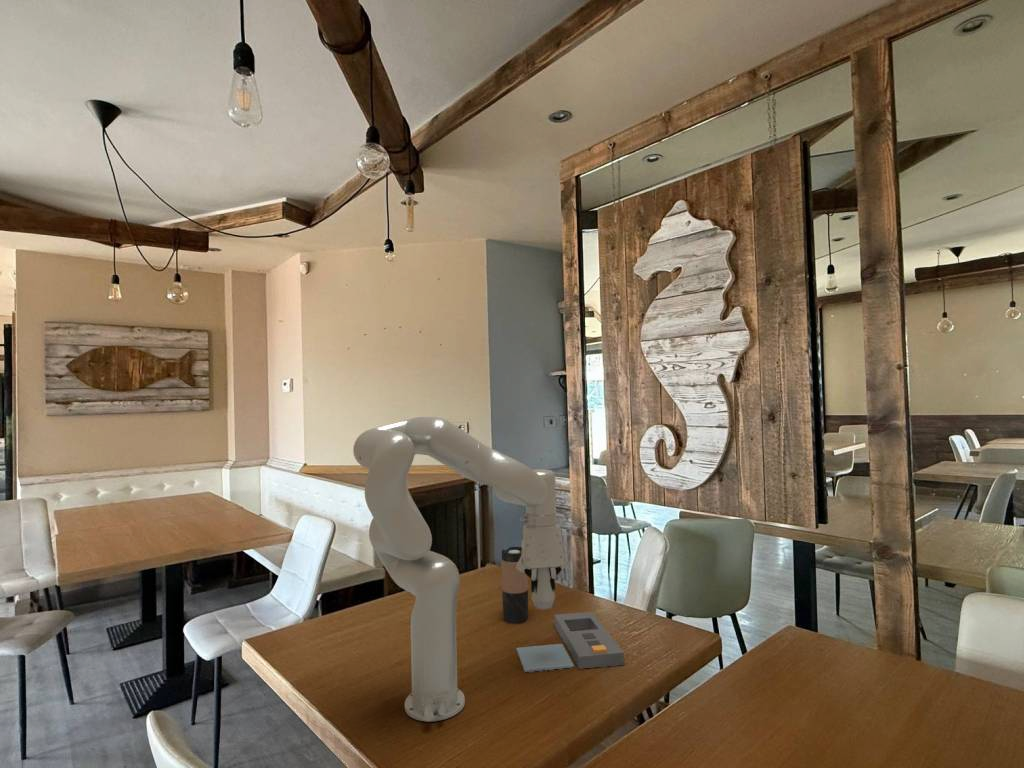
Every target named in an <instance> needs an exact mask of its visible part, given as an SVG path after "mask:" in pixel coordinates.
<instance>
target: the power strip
mask: <svg viewBox="0 0 1024 768" xmlns="http://www.w3.org/2000/svg"><path fill="white" fill-rule="evenodd" d="M553 617H554V619H553V621H554V623H553V624H554V627H555V629H556V631H557V633H558V635H559V637H560V638H561V640H562V639H563V640H562V642H563V643H564V645H565V646H567V647H566V648H567V651H568V652H569V651H570V652H569V654H570V653H571V654H570V655H572V656H571V657H572V659H573V658H574V659H573V661H574V660H575V661H574V663H575V662H576V663H575V664H576V666H577V665H578V666H577V667H579V668H578V669H581V670H583V669H582V668H591V669H593V668H592V667H601V668H606V667H605V666H612V667H618V666H617V665H622V666H624V665H625V659H624V658H625V653H624V651H623V650H622V649H621V647H620V646H619V645H618V643H617V642H616V641H615V640H614V638H613V637H612V635H611V634H610V633H609V632H608V630H607V629H606V628H605V627H604V625H603V624H602V622H600V620H599V619H598V618H597V616H596V615H595V614H594V613H593V611H585V612H574V613H571V612H570V613H560V614H554V615H553ZM580 629H583V630H580ZM571 630H572V631H571ZM603 666H604V667H603Z"/></svg>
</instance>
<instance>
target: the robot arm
mask: <svg viewBox="0 0 1024 768" xmlns="http://www.w3.org/2000/svg"><path fill="white" fill-rule="evenodd" d="M352 451H353V452H352V453H353V456H354V459H355V460H356V462H357V463H358V464H359V465H360V466H361V467H363V468H365V469H367V470H368V472H367V476H366V479H365V486H364V499H365V503H366V505H367V508H368V510H369V513H371V516H372V519H371V521H370V524H369V528H368V536H369V541H370V544H371V546H372V548H373V550H374V552H375V553H376V555H377V556H378V558H379V560H380V562H381V563H382V565H383V566H384V568H385V570H386V571H387V572H388V575H389V576H390V578H391V579H392V581H393V582H394V583H395V584H396V585H397V586H399V588H401V589H402V590H404V591H407V592H408V593H411V594H412V595H413V596H415V600H414V601H415V602H414V605H413V609H412V612H411V617H410V645H411V646H410V648H411V649H410V652H411V655H410V656H411V658H410V659H411V661H410V663H411V693H409V695H408V696H406V699H405V700H404V711H405V713H406V714H407V716H409V717H410V718H412V719H414V720H417V721H420V722H439V721H445V720H447V719H450V718H453V717H454V716H456V715H457V714H459V713H460V712H461V711H462V710H463V708H464V707H465V703H466V699H465V694H464V692H463V691H462V690H460V689H459V688H458V660H457V657H458V656H457V654H458V653H457V650H458V649H457V602H458V601H457V600H458V595H459V590H460V589H459V588H460V583H461V582H460V573H459V569H458V568H457V565H456V564H455V563H454V562H453V561H452V560H451V559H450V558H449V557H447V556H445V555H443V554H440V553H438V552H435V551H432V550H431V547H432V544H433V542H432V541H433V537H432V533H431V529H430V527H429V525H428V524H427V521H426V520H425V518H424V517H423V515H422V512H420V510H419V508H418V507H417V504H416V503H415V501H414V500H413V497H412V495H411V493H410V490H409V487H408V476H409V472H410V470H411V467H412V465H413V462H414V460H415V459H414V458H415V456H416V455H421V456H422V455H423V456H429V457H431V458H432V459H434V460H436V461H437V462H439V463H440V464H442V465H444V466H446V467H447V468H449V469H451V470H453V471H454V472H456V473H457V474H459V475H460V476H461V477H464V479H468V480H470V481H473V482H475V483H479V484H481V485H482V484H483V485H485V486H490V487H493V492H494V494H495V496H496V497H497V499H499V500H500V501H502V502H503V503H504V502H505V503H508V504H513V505H519V506H523V507H525V514H524V515H522V516H521V515H520V516H519V517H520V518H519V519H520V522H522V523H525V524H524V525H523V528H522V529H523V530H522V533H521V534H522V535H521V547H522V548H521V557H520V559H519V561H518V563H517V566H516V568H517V570H519V571H521V572H523V573H525V574H526V575H527V576H528V578H530V590H531V593H532V592H534V589H535V591H536V592H537V586H538V581H537V580H536V578H537V577H536V572H537V569H540V568H549V570H550V576H551V579H550V583H551V588H552V591H553V590H554V592H555V591H556V581H555V580H556V578H557V576H558V575H559V574H560V573H561V572H562V570H564V569H565V568H568V567H569V562H568V561H567V559H566V557H565V553H564V544H563V543H564V542H563V536H562V535H563V534H562V530H561V526H560V524H559V523H557V499H556V498H557V497H556V495H557V494H556V475H555V472H554V471H553V470H551V469H546V468H545V469H544V468H542V469H540V468H537V469H536V468H535V469H531V468H530V467H529V466H527V465H525V464H524V463H522V462H520V461H518V460H516V459H514V458H512V457H510V456H508V455H506V454H504V453H501V452H500V451H499V450H495V449H493V448H491V447H489V446H488V445H486V444H484V443H482V442H481V441H479V440H477V438H474V437H473V436H471V435H470V434H469V433H467V432H466V431H464V430H463V429H461V428H460V427H458V426H457V425H455V424H454V423H452V422H451V421H449V420H447V419H445V418H443V417H437V416H435V417H434V416H419V417H413V418H408V419H405V420H400V421H396V422H394V423H390V424H385V425H381V426H377V427H373V428H369V429H367V430H366V431H364V432H362V433H360V434H359V435H358V437H357V438H356V440H355V441H354V444H353V449H352ZM523 565H524V566H525V567H524V566H523Z"/></svg>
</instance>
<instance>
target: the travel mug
mask: <svg viewBox="0 0 1024 768" xmlns="http://www.w3.org/2000/svg"><path fill="white" fill-rule="evenodd" d="M521 548H522V546H509V547H508V548H507V549H502V550H501V594H502V596H501V598H502V615H503V621H504V622H505V623H508V624H512V625H513V624H515V625H516V624H523V623H525V622H527V621H528V619H529V618H528V617H529V581H528V580H529V576H527V575H526V574H525V573H523V572H521V571H519V570H517V568H516V566H517V563H518V561H519V559H520V557H521ZM523 566H524V565H523ZM524 567H525V566H524Z"/></svg>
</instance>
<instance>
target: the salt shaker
mask: <svg viewBox="0 0 1024 768" xmlns="http://www.w3.org/2000/svg"><path fill="white" fill-rule="evenodd" d="M536 577H537V578H536V580H537V581H538V586H537V592H536V591H535V589H534V592H532V591H531V600H532V602H533V605H534V608H536V609H538V610H545V611H546V610H549V609H551V608H553V604H554V603H555V599H556V593H555V591H554V590H553V591H552V588H551V583H550V579H551V576H550V570H549V568H540V569H537V572H536Z"/></svg>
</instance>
